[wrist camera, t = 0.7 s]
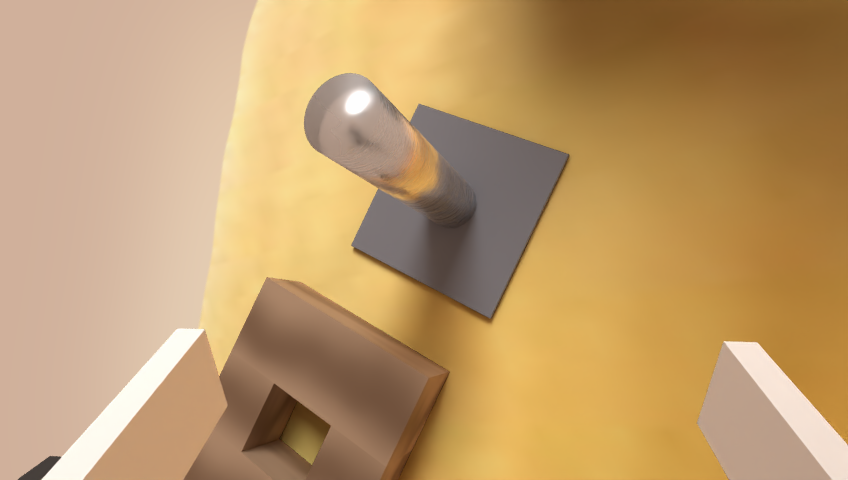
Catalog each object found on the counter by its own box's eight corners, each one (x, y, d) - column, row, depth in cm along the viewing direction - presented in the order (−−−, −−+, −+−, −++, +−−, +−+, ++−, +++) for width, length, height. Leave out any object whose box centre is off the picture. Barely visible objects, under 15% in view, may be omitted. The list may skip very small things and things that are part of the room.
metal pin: (441, 171, 33) (327, 64, 20) (484, 189, 32) (394, 86, 18) (420, 216, 33) (291, 140, 20) (462, 235, 32) (355, 168, 18)
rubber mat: (420, 106, 35) (418, 103, 35) (569, 156, 31) (568, 154, 30) (353, 246, 35) (351, 245, 35) (491, 318, 31) (489, 318, 30)
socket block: (300, 282, 37) (266, 277, 33) (449, 371, 31) (428, 378, 27) (208, 474, 37) (164, 490, 33) (341, 598, 31) (305, 634, 27)
